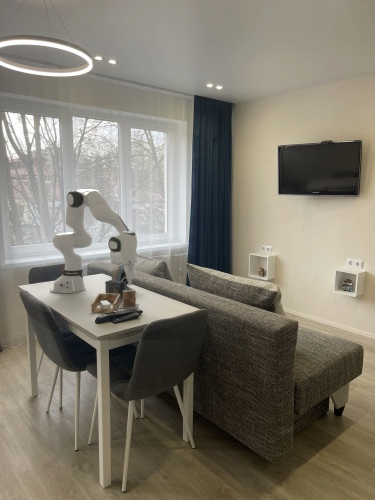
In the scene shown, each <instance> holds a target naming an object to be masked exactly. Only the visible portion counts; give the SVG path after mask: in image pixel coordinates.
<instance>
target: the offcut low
mask: <svg viewBox="0 0 375 500" xmlns="http://www.w3.org/2000/svg"><path fill="white" fill-rule="evenodd" d="M96 309H103V308H102V307H101V306H100V304H99V305H98V306H97V307H96ZM110 309H114V307H113V305H111V308H110Z"/></svg>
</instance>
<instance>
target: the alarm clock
mask: <svg viewBox="0 0 375 500" xmlns="http://www.w3.org/2000/svg"><path fill="white" fill-rule="evenodd" d="M111 272H112V273H111V280H116V281H124V290H135V289H133V288H132V287H130V286H129V285H128V281H127V277H126V274H125V271H124V265H123V264H119V265H117V266H116V267H115V268H114V269H113V270H112V271H111Z"/></svg>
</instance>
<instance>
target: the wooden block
mask: <svg viewBox="0 0 375 500" xmlns="http://www.w3.org/2000/svg"><path fill="white" fill-rule="evenodd" d="M136 294H137V293H136V290H135V289H134V290H124V291H123V298H122V304H123V307H131V306H136V304H137V301H136V299H137V295H136Z"/></svg>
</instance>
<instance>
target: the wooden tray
mask: <svg viewBox="0 0 375 500" xmlns="http://www.w3.org/2000/svg"><path fill="white" fill-rule="evenodd" d="M105 300H107V301H108V302H109V303H113V304H112V306H113V307H114V309H96V307H97V306H99V305H100V301H105ZM120 303H121V299H120V294H106V293H98V294H97V296H95V298H94V299H93V301H92V302H91V313H92V314H94V313H97V314H98V313H99V314H100V313H103V314H104V313H107V312H114V311H116V312H117V310H118V308H119V306H120ZM107 314H108V313H107Z"/></svg>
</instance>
